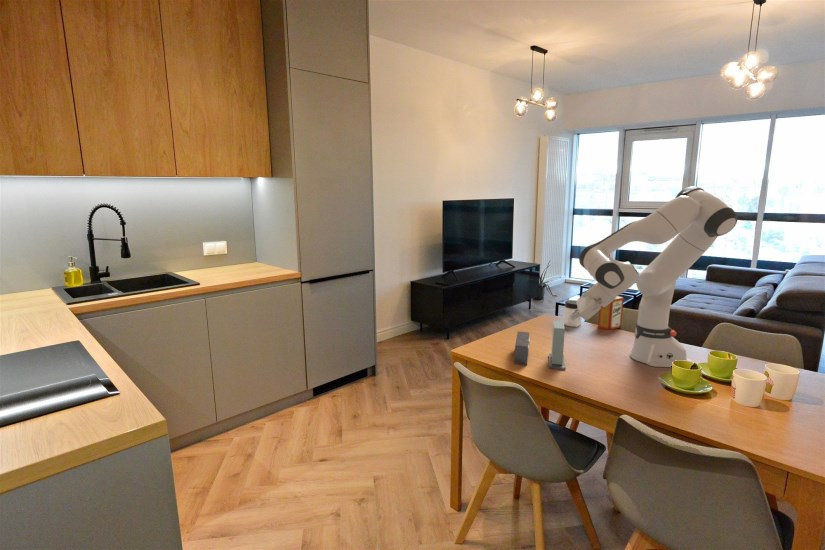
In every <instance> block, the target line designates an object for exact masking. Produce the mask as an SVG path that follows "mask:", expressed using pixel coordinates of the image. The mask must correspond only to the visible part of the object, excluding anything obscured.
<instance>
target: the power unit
mask: <svg viewBox="0 0 825 550" xmlns="http://www.w3.org/2000/svg"><path fill="white" fill-rule="evenodd" d="M530 340H531V337H530V332H527V331H517V332H516V339H515V343H514V344H515V345H514V365H518V366H519V365H520V366H527V365H528V358H529V353H530Z"/></svg>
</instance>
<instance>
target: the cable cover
mask: <svg viewBox="0 0 825 550" xmlns="http://www.w3.org/2000/svg"><path fill="white" fill-rule="evenodd" d="M552 323H553V324H552V343H551V354H552V364H558V365H562V364H563V355H564V346H565V332H566V331H565V329H566V327H565V324H564V322H563V321H562V320H561V321H560V320H559V321H558V320H553V322H552Z"/></svg>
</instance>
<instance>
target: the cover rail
mask: <svg viewBox="0 0 825 550" xmlns="http://www.w3.org/2000/svg"><path fill="white" fill-rule="evenodd" d="M565 361H566V360H565V356H564V354H563V364H562V365H558V364H552V353H548V369H550V370H559V371H566V362H565Z"/></svg>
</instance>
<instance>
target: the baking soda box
mask: <svg viewBox="0 0 825 550" xmlns="http://www.w3.org/2000/svg"><path fill="white" fill-rule="evenodd" d="M623 308H624V297H622V296H620V295H618V296H617V297H616V298H615V300H613V301H612V302H611V303H609V304H608V305H607V306H605V307H603V306H601V309H600V310H599V311H598V322H597V323H598V324H597V328H599V329H603V330H606V331H613V330H615V329H620V328H622V319H623V311H624V310H623Z"/></svg>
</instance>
